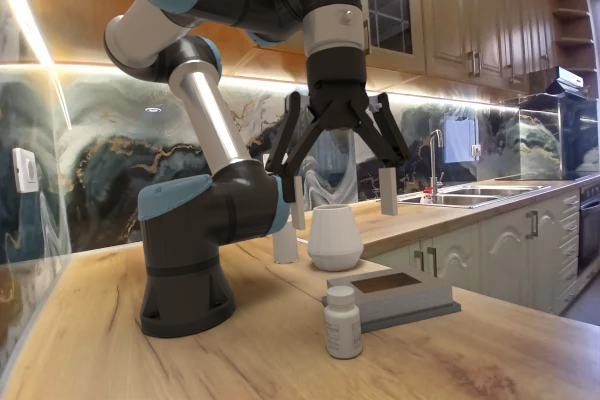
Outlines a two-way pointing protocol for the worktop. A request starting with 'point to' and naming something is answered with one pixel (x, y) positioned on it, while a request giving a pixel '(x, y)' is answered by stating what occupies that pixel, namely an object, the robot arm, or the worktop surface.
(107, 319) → the worktop surface
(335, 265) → the white vase
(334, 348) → the pill bottle
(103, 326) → the worktop surface
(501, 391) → the worktop surface
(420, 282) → the holder
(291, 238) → the candle
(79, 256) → the worktop surface
